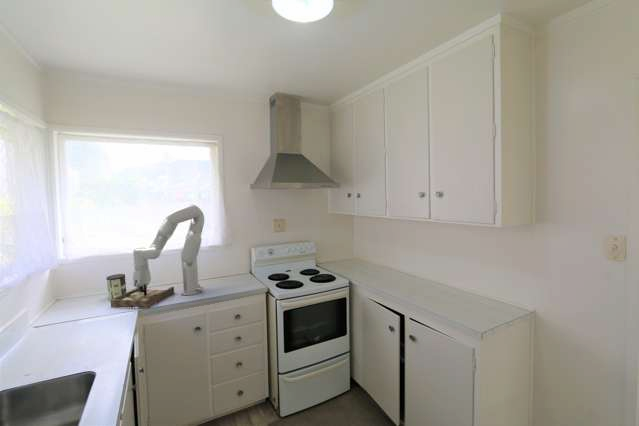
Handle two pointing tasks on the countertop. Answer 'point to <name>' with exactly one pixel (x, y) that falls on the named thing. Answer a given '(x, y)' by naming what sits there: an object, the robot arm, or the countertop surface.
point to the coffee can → (116, 285)
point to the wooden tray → (148, 300)
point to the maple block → (137, 296)
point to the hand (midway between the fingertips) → (143, 295)
